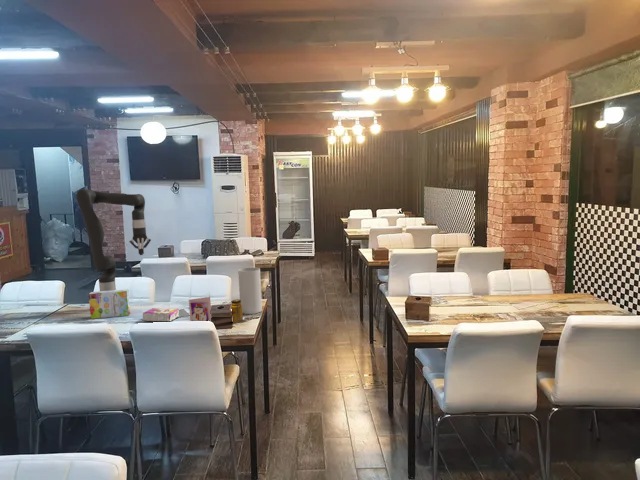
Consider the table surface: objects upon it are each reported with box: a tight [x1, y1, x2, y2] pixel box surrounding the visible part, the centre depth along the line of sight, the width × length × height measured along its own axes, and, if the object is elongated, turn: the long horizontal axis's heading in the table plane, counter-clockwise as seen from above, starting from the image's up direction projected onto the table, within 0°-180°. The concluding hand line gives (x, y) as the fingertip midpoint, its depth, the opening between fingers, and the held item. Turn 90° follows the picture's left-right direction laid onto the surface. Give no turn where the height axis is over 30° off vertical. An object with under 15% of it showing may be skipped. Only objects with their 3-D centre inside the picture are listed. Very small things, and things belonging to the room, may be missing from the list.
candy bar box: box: [142, 307, 180, 322], centre depth 283 cm, size 11×5×16 cm
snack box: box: [88, 288, 131, 320], centre depth 294 cm, size 21×6×15 cm, turn 100°
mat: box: [176, 308, 190, 319], centre depth 292 cm, size 20×17×1 cm
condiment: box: [230, 298, 249, 325], centre depth 274 cm, size 7×8×12 cm
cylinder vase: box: [237, 267, 263, 315], centre depth 292 cm, size 12×12×25 cm
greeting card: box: [188, 296, 212, 322], centre depth 267 cm, size 11×7×15 cm, turn 82°
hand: (141, 254), depth 310 cm, fingers closed
